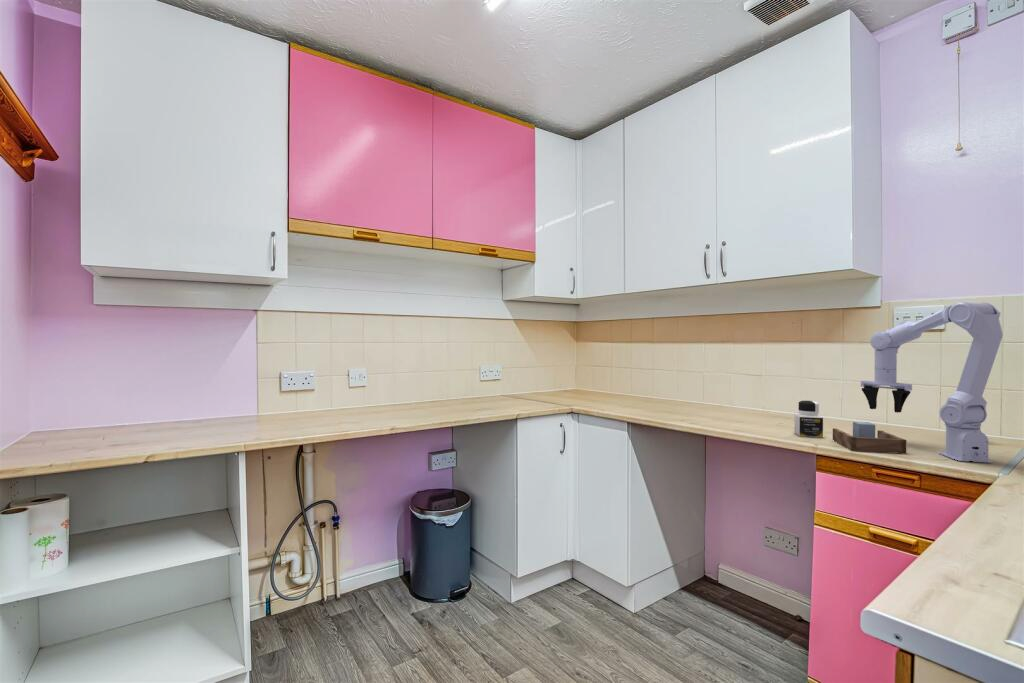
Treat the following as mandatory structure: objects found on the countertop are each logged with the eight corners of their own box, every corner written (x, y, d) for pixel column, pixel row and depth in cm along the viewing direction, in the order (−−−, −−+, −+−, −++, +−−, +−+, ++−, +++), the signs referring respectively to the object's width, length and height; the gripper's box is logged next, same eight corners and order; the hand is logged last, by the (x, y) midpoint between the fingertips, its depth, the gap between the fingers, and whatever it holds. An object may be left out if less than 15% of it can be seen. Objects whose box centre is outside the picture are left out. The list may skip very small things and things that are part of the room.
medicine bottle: (799, 436, 168) (799, 401, 167) (794, 432, 174) (794, 399, 174) (823, 438, 165) (823, 402, 165) (816, 434, 172) (817, 400, 172)
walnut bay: (906, 453, 143) (906, 440, 143) (851, 450, 147) (851, 437, 147) (881, 442, 158) (881, 430, 158) (832, 440, 161) (832, 428, 161)
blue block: (875, 447, 152) (875, 424, 152) (858, 446, 153) (858, 424, 153) (868, 444, 156) (868, 422, 156) (852, 443, 157) (852, 421, 157)
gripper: (918, 370, 154) (918, 413, 154) (870, 367, 167) (870, 406, 167) (903, 370, 151) (903, 414, 151) (856, 367, 165) (856, 408, 165)
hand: (885, 410), depth 159 cm, fingers open, 7 cm apart
